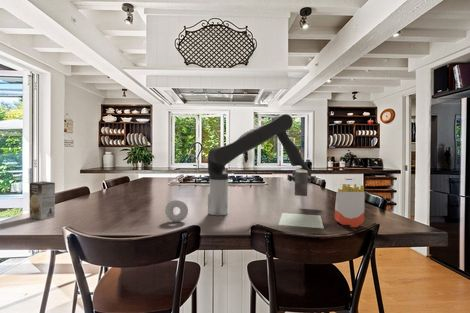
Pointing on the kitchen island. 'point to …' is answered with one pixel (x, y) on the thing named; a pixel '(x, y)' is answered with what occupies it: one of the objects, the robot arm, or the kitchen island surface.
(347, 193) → the french fries container
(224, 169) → the robot arm
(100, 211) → the kitchen island surface
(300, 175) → the maple block
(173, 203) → the donut
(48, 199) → the coffee box
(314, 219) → the sage mat
